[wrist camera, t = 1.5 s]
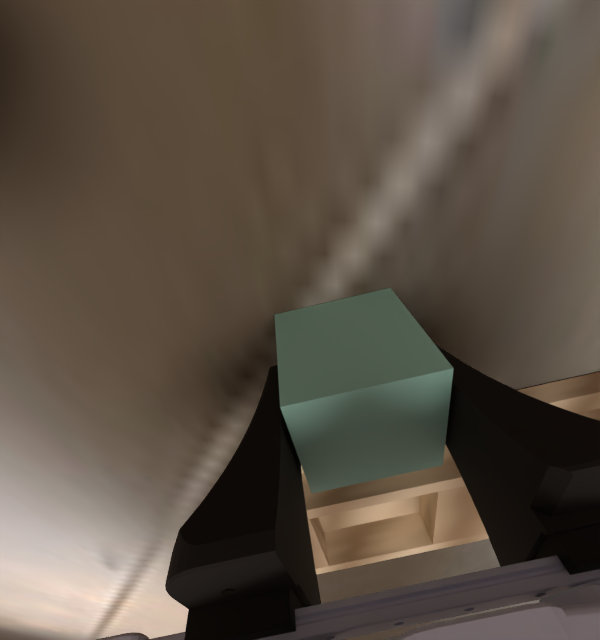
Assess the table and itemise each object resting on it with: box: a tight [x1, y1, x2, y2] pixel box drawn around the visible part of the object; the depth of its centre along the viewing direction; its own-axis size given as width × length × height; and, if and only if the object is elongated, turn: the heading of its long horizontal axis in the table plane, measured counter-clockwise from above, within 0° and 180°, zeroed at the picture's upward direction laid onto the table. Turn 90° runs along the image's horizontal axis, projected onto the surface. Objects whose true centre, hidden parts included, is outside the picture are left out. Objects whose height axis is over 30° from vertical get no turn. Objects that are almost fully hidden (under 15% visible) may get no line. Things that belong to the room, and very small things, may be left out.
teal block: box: [275, 288, 454, 493], centre depth 12 cm, size 5×5×5 cm
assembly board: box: [301, 372, 600, 574], centre depth 19 cm, size 22×12×3 cm, turn 102°
